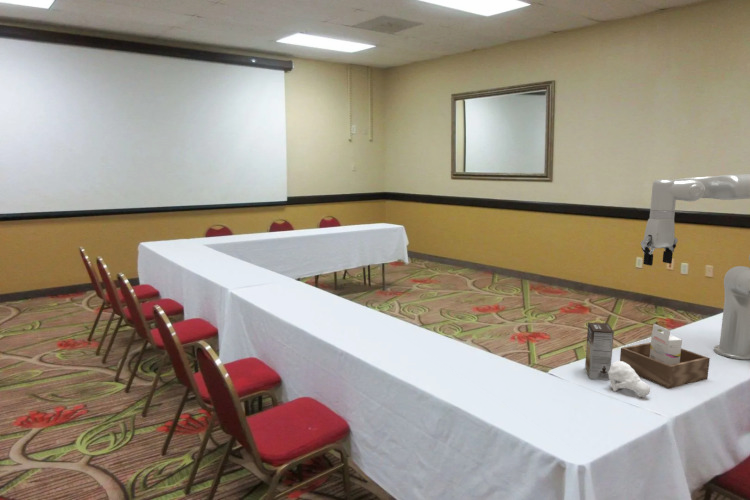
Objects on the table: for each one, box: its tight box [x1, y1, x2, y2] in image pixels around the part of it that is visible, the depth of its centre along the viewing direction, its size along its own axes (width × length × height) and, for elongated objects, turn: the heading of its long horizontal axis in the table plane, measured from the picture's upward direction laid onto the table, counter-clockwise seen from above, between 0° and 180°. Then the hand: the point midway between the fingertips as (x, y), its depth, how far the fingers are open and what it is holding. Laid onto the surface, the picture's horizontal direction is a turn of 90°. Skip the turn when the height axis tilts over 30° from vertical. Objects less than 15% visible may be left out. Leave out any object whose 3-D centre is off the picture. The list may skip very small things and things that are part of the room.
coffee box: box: [584, 322, 615, 381], centre depth 171 cm, size 9×6×16 cm
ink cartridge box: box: [649, 323, 683, 365], centre depth 172 cm, size 9×5×15 cm, turn 9°
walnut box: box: [619, 341, 711, 390], centre depth 173 cm, size 18×18×7 cm
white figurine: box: [608, 360, 651, 399], centre depth 159 cm, size 6×8×12 cm
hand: (657, 263), depth 188 cm, fingers open, 9 cm apart
